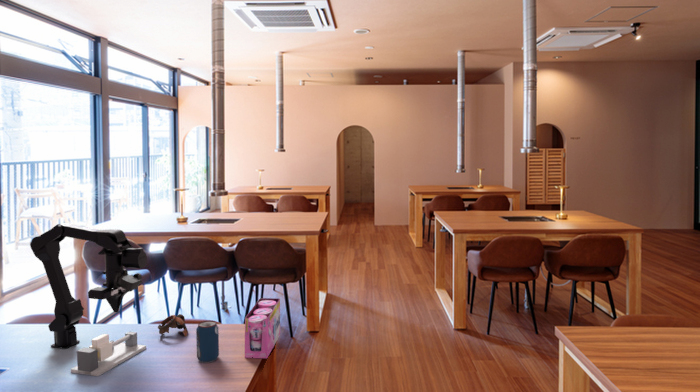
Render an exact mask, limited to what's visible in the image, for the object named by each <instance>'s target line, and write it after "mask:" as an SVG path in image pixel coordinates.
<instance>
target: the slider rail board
mask: <svg viewBox="0 0 700 392" xmlns="http://www.w3.org/2000/svg"><path fill="white" fill-rule="evenodd" d="M109 342H112V352H113V355H112V356H110V357H109V358H107V359H105V360H103V361H101V362H100V361H98V357H99V353H98V349H94V348H89V347H82V348H81V349H79V350H77V351H76V358H77V365H76V366H74V367H72V368H70V372H71V373H74V374H79V375H80V374H81V375H87V376H94V377H99V376H101V375H103V374H105V373H107V372H109V371H110V370H111V369H114V368H115V367H117V366H119V365H120V364H122V363H124V362H125V361H127V360H129V359H130V358H132V357H134V356H136V355H138V354H140V353H141V352H143V351H145V350H146V349H147V345H146V344H145V345H144V344H138V333H137V332H135V331H127V332H126V333H124V336H123V337H121V338H118V339H117V340H115V341H114V340H109ZM118 364H119V365H118Z"/></svg>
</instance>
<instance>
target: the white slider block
mask: <svg viewBox="0 0 700 392" xmlns="http://www.w3.org/2000/svg"><path fill="white" fill-rule="evenodd" d="M88 348H94V349H98V353H99V357H98V361H100V362H101V361H103V360H105V359H107V358H109V357H110V356H112V355H113V352H112V342H110V335H109V334H107V333H106V334H105V333H103V334H100V335H99V336H97V337H93V338H92V339H91V345H89V346H88Z"/></svg>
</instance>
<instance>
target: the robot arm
mask: <svg viewBox="0 0 700 392" xmlns="http://www.w3.org/2000/svg"><path fill="white" fill-rule="evenodd" d="M65 238H70V239H77V240H83V241H86V242H92V243H95V244H96V245H97V246H98V247H101V248H102V249H101V250H100V251H98V255H101V256H102V255H103V256H104V267H105V270H102V275H105V282H103V283H102V286H103V287H101V286H97V287H94V288H90V289H89V291H87V298H88V299H92V300H93V299H94V300H101V301H102V300H106V302H108V305H109V306H110V308H111V309H112V311H113V312H114V313H115V314H116V313H119V310H120V309H121V305H122V302H123V299H124V296H125V295H126V294H127V293H129V292H132V291H134V290H138V289H139V288H138V287H139V286H141V284H142V283H143V276H142V273H140V272H136V273H135V274H129V273H128V270H127V269H145V267H146V265H147V263H148V256H147V254H146V252H145V251H144V247H138V248H134V246H133V245H132V243H131V242H130V241H129V240H128V238H127V236H126V234H125V233H124V231H123V230H121V229H110V228H109V229H96V228H91V227H86V226H81V225H76V224H71V223H68V222H63V223H58V224H56V225H54V226H53V227H52V228H50V229H48V230H47V231H45V232H44V233H42V234H39V235H38V236H35V237H33V238H32V239H31V241H30V242H29V247H30V249H31V251H32V253H33V255H34V256H35V258H37V259H38V260H39V261H41V262H42V265H43V269H44V271H45V273H46V276H47V280H48V283H49V286H50V289H51V292H52V294H53V297H54V300H55V304H54V305H55V306H54V310H53V313H54V319H53V320H52V321H51V322H50V323H49V324H48V326H47V327H48V330H49V331H50V332H51V333H52V332H53V338H54V340H53V342H54V343H53V344H50V347H51V348H58V349H68V348H70V347H73V346H74V345H76V344H77V345H78V344H79V343H80V340H78V339H77V338H78V337H77V335H78V334H77V329H76V325H78V324H79V323H80V321H81V319H82V317H83V315H84V310H85V308H84V306H83V305H82V301H81V299H80V298H78V299H75V298H74V297H73V296H72V293H71V289H70V287H69V284H68V281H67V279H66V275H65V273H64V270H63V267H62V264H61V261H60V257H59V256H60V252H61V245H60V243H61V242H62V241H63V240H65Z"/></svg>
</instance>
